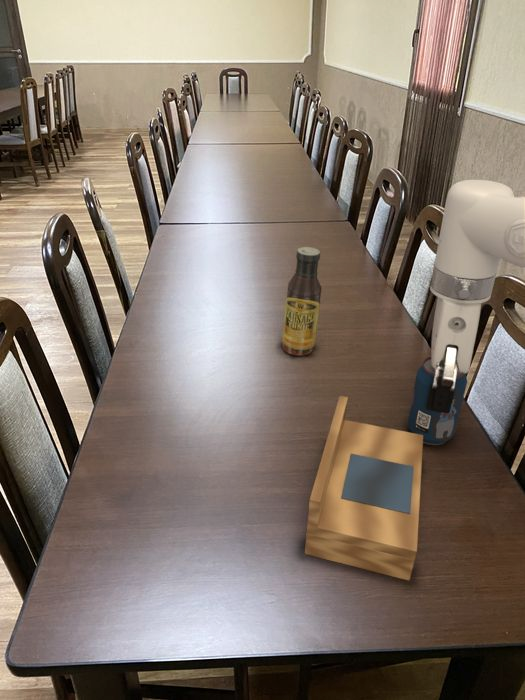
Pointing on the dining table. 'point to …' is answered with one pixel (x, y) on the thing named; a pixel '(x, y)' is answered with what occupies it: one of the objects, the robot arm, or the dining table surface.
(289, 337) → the sauce bottle
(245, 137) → the dining table surface
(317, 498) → the wooden block with lip
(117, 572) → the dining table surface
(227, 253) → the dining table surface
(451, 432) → the soda can
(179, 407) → the dining table surface
